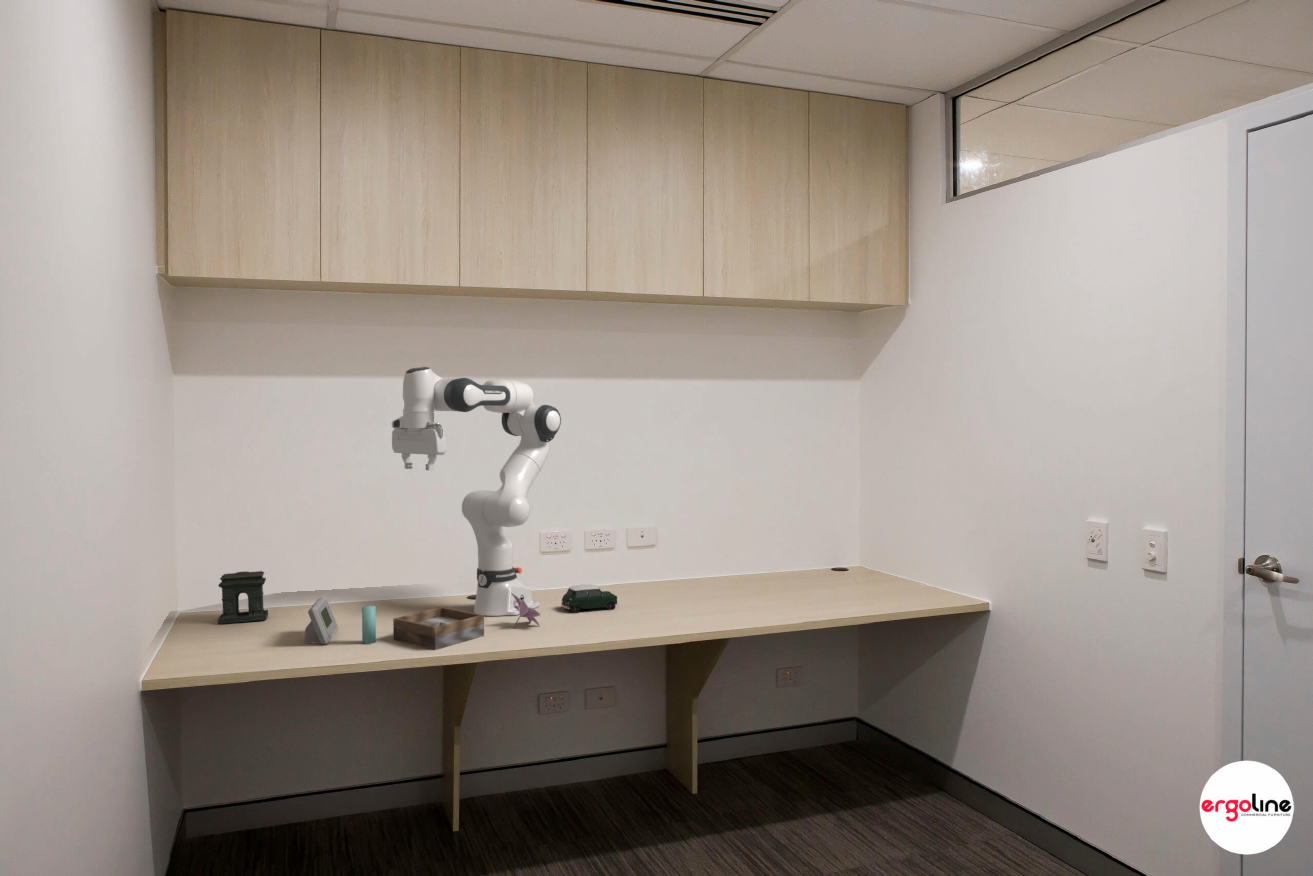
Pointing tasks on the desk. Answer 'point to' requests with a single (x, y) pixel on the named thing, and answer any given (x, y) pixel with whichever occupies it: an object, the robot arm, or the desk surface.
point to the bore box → (438, 627)
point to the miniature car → (588, 598)
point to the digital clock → (321, 623)
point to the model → (233, 588)
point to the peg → (368, 624)
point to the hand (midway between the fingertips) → (418, 469)
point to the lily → (525, 611)
